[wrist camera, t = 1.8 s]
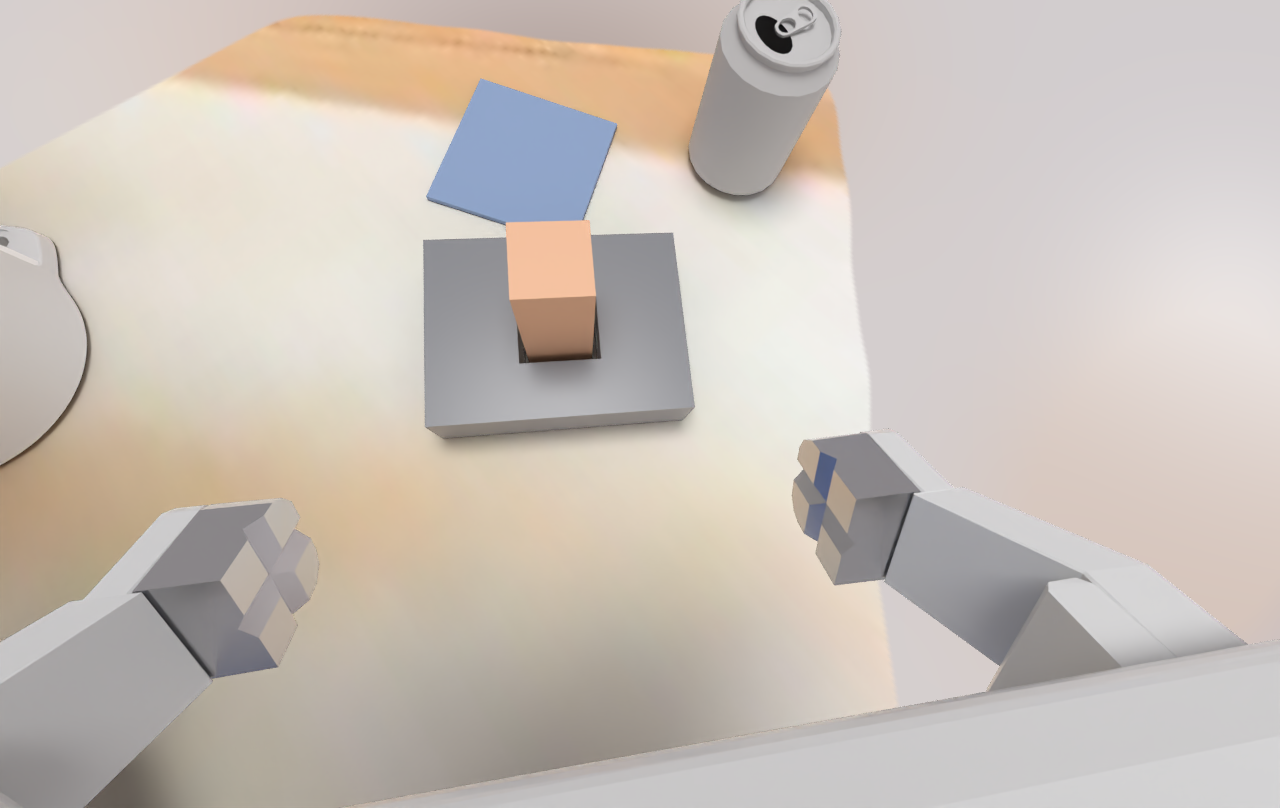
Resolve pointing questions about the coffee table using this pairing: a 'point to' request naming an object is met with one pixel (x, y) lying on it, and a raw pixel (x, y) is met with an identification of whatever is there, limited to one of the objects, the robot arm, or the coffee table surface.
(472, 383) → the grey socket block
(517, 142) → the mat
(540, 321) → the plug
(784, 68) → the can
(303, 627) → the coffee table surface
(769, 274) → the coffee table surface
